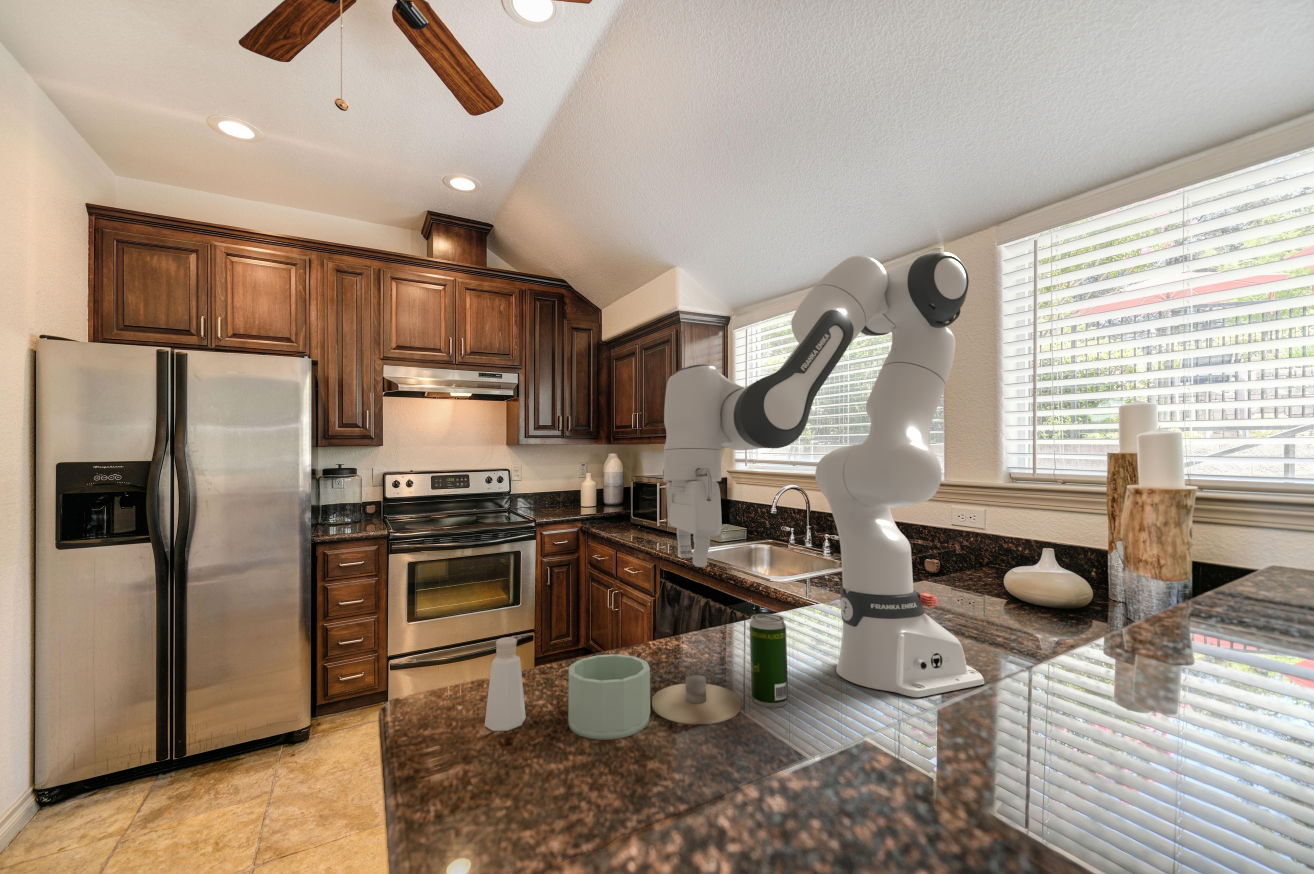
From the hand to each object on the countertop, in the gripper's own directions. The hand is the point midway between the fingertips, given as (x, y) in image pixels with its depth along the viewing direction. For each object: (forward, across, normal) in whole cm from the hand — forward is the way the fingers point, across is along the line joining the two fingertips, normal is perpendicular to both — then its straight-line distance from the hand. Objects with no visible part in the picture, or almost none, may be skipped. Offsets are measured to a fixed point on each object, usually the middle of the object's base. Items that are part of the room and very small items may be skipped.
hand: (692, 561), depth 79 cm
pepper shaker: (+21, -1, +26) cm, 34 cm away
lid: (+21, 0, -1) cm, 21 cm away
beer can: (+20, -1, -12) cm, 24 cm away
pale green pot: (+21, -3, +12) cm, 24 cm away
